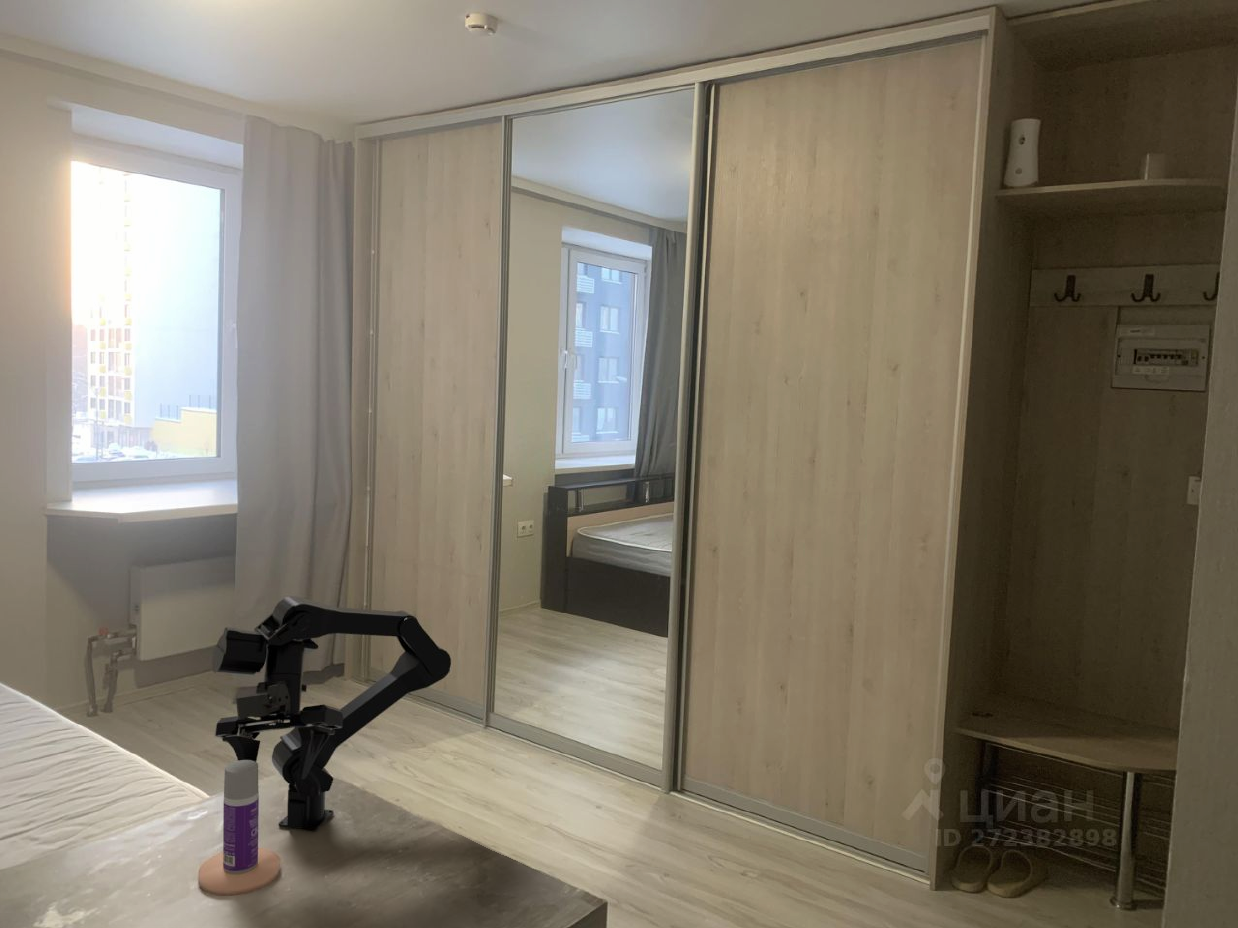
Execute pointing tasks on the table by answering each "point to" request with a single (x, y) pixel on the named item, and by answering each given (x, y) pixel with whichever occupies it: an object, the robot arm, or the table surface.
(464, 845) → the table surface
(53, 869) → the table surface
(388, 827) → the table surface
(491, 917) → the table surface
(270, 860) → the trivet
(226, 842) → the container
